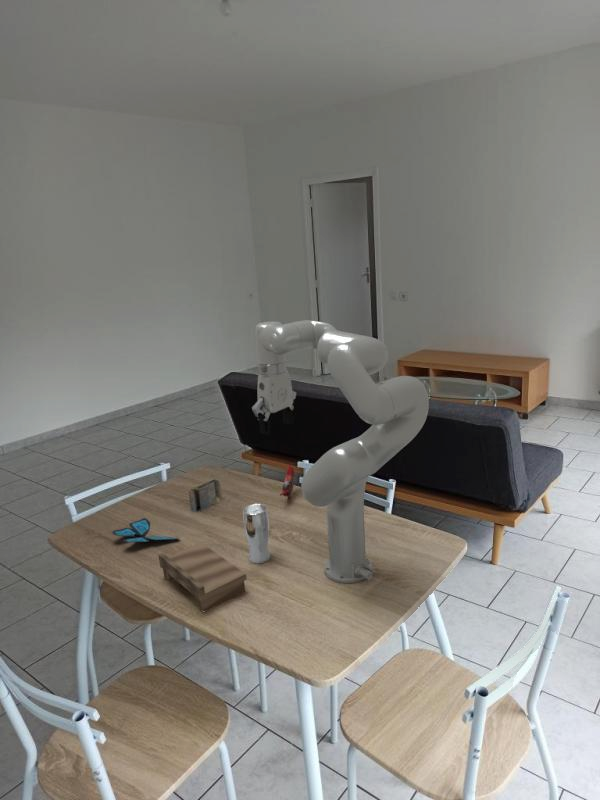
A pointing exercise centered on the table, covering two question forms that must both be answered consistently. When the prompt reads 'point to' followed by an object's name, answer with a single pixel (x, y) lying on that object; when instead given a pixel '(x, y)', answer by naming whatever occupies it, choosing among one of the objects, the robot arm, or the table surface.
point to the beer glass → (257, 532)
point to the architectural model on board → (205, 494)
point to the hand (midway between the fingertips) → (277, 428)
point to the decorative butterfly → (138, 532)
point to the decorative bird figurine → (288, 483)
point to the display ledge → (204, 575)
